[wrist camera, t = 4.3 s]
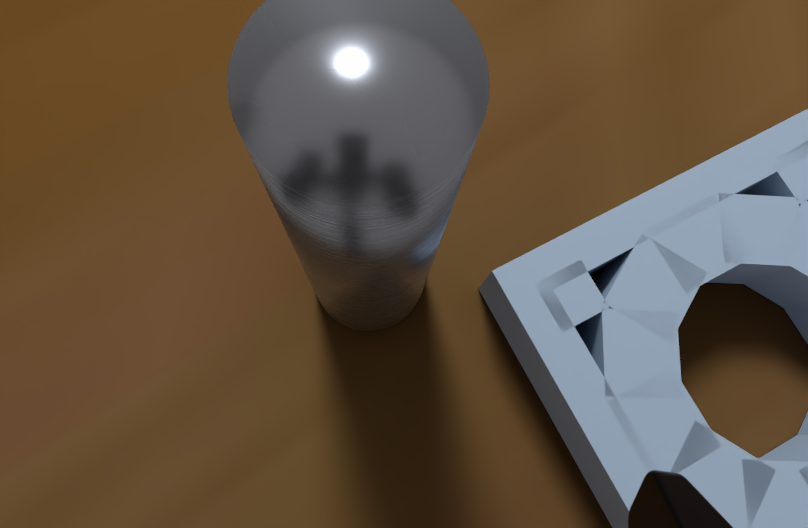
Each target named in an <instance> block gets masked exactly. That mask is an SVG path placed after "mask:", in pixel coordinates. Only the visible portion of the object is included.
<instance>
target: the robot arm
mask: <svg viewBox="0 0 808 528" xmlns="http://www.w3.org/2000/svg"><path fill="white" fill-rule="evenodd" d="M628 528H733V527H732V526H731V525H730V524H729V523H728V522H727V521H726V520H725V518H724V517H723V516H722V515H721V514H720V513H719V512H718V511H717V510H716V509H715V508H714V507H713V506H712V505H711V504H710V503H709V502H708V501H707V500H706V499H705V498H704V496H703V495H702V494H701V493H700V492H699V491H698V490H697V489H696V488H695V487H694V486H693V485H692V484H691V483H690V482H689V481H688V480H687V479H686V478H685V477H684V476H682V475H681V474H678V473H673V472H666V471H658V470H651V471H649V472H648V473H647V474H646V476H645V477H644V479H643V482H642V484H641V486H640V488H639V490H638V492H637V494H636V497H635V499H634V501H633V503H632V505H631V508H630V510H629V515H628Z"/></svg>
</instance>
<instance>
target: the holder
mask: <svg viewBox="0 0 808 528" xmlns="http://www.w3.org/2000/svg"><path fill="white" fill-rule="evenodd" d="M602 268H604V269H603V271H602V273H601V274H600V276H599V278H598V280H597V282H596V283H594V281H593V280H592V278H591V276H590V275H591V274H593V273H595V272H597V271H599V270H600V269H602ZM706 282H710V283H731V284H744V285H746V286H747V287H749V288H751V289H752V290H754V291H756V292H757V293H759V294H761V295H762V296H764V297H766V298H768V299H769V300H771V301H773V302H774V303H776V304H778V305H779V306H781V307H783V308H784V310H785V311H786V313H787V314H788V316H789V317H790V319H791V320H792V322H793V323H794V325H795V326H796V328H797V329H798V331H799V332H800V334H801V335H802V337H803V338H804V340H805V341H806V343H807V344H808V109H806V110H804V111H803V112H801V113H799V114H797V115H795V116H793V117H791V118H789V119H787V120H785V121H783V122H781V123H779V124H777V125H775V126H773V127H771V128H769V129H767V130H766V131H764V132H762V133H760V134H758V135H756V136H754V137H752V138H750V139H748V140H746V141H744V142H742V143H740V144H738V145H736V146H734V147H732V148H730V149H729V150H727V151H725V152H723V153H721V154H719V155H717V156H715V157H713V158H711V159H709V160H707V161H705V162H703V163H701V164H699V165H697V166H695V167H693V168H692V169H690V170H688V171H686V172H684V173H682V174H680V175H678V176H676V177H674V178H672V179H670V180H668V181H666V182H664V183H662V184H660V185H658V186H656V187H655V188H653V189H651V190H649V191H647V192H645V193H643V194H641V195H639V196H637V197H635V198H633V199H631V200H629V201H627V202H625V203H623V204H621V205H619V206H618V207H616V208H614V209H612V210H610V211H608V212H606V213H604V214H602V215H600V216H598V217H596V218H594V219H592V220H590V221H588V222H586V223H584V224H583V225H581V226H579V227H577V228H575V229H573V230H571V231H569V232H567V233H565V234H563V235H561V236H559V237H557V238H555V239H553V240H551V241H549V242H547V243H546V244H544V245H542V246H540V247H538V248H536V249H534V250H532V251H530V252H528V253H526V254H524V255H522V256H520V257H518V258H516V259H514V260H512V261H510V262H509V263H507V264H505V265H503V266H501V267H499V268H497V269H495V270H493V271H492V272H491V273H490V274H489V276H488V277H487V278H486V280H485V281H484V282H483V284H482V285H481V286H480V287H479V291H480V293H481V294H482V296H483V298H484V300H485V302H486V303H487V305H488V307H489V309H490V311H491V312H492V314H493V316H494V318H495V319H496V321H497V323H498V325H499V327H500V328H501V330H502V332H503V334H504V335H505V337H506V339H507V341H508V343H509V344H510V346H511V348H512V350H513V352H514V353H515V355H516V357H517V359H518V360H519V362H520V364H521V366H522V368H523V369H524V371H525V373H526V375H527V376H528V378H529V380H530V382H531V384H532V385H533V387H534V389H535V391H536V392H537V394H538V396H539V398H540V400H541V401H542V403H543V405H544V407H545V409H546V410H547V412H548V414H549V416H550V417H551V419H552V421H553V423H554V425H555V426H556V428H557V430H558V432H559V433H560V435H561V437H562V439H563V441H564V442H565V444H566V446H567V448H568V450H569V451H570V453H571V455H572V457H573V458H574V460H575V462H576V464H577V466H578V467H579V469H580V471H581V473H582V474H583V476H584V478H585V480H586V482H587V483H588V485H589V487H590V489H591V490H592V492H593V494H594V496H595V498H596V499H597V501H598V503H599V505H600V507H601V508H602V510H603V512H604V514H605V515H606V517H607V519H608V521H609V523H610V524H611V526H612V528H628V515H629V510H630V508H631V505H632V503H633V501H634V499H635V497H636V494H637V492H638V490H639V488H640V486H641V484H642V482H643V479H644V477H645V476H646V474H647V473H648V472H649V471H651V470H658V471H666V472H673V473H678V474H681V475H682V476H684V477H685V478H686V479H687V480H688V481H689V482H690V483H691V484H692V485H693V486H694V487H695V488H696V489H697V490H698V491H699V492H700V493H701V494H702V495H703V496H704V498H705V499H706V500H707V501H708V502H709V503H710V504H711V505H712V506H713V507H714V508H715V509H716V510H717V511H718V512H719V513H720V514H721V515H722V516H723V517H724V518H725V520H726V521H727V522H728V523H729V524H730V525H731V526H732V527H733V528H808V412H807V414H806V417H805V419H804V421H803V423H802V426H801V428H800V430H799V432H798V435H796V436H795V437H793V438H792V439H790V440H788V441H787V442H785V443H783V444H782V445H780V446H779V447H777V448H775V449H774V450H772V451H770V452H769V453H767V454H765V455H764V456H762V457H761V458H756V457H754V456H752V455H751V454H749V453H747V452H746V451H744V450H743V449H741V448H739V447H738V446H736V445H735V444H733V443H731V442H730V441H728V440H726V439H725V438H723V437H722V436H720V435H718V434H717V433H715V432H714V431H712V430H711V429H710V427H709V426H708V424H707V422H706V421H705V419H704V418H703V416H702V414H701V413H700V411H699V409H698V408H697V406H696V404H695V403H694V401H693V400H692V398H691V396H690V395H689V393H688V391H687V390H686V388H685V387H684V385H683V383H682V382H681V368H680V353H679V338H678V328H679V326H680V324H681V322H682V320H683V318H684V316H685V314H686V312H687V310H688V308H689V306H690V304H691V302H692V300H693V298H694V297H695V295H696V293H697V291H698V289H699V287H700V286H701V285H703V284H704V283H706ZM574 326H575V327H574Z"/></svg>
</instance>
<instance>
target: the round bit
mask: <svg viewBox="0 0 808 528" xmlns="http://www.w3.org/2000/svg"><path fill="white" fill-rule="evenodd" d="M489 88H490V85H489V71H488V66H487V61H486V56H485V53H484V50H483V48H482V45H481V42H480V40H479V38H478V36H477V34H476V32H475V30H474V29H473V27H472V26H471V24H470V23H469V21H468V20H467V19H466V17H465V16H464V15H463V13H462V12H461V11H460V10H459V9H458V8H457V7H456V6H455V5H454V4H453V3H452V2H451V1H450V0H266V1H265V2H264V3H263V4H262V5H261V6H260V7H259V8H258V9H257V10H256V11H255V12H254V13H253V14H252V16H251V17H250V19H249V20H248V21H247V23H246V24H245V26H244V27H243V29H242V31H241V33H240V35H239V37H238V39H237V41H236V43H235V46H234V49H233V52H232V55H231V59H230V65H229V70H228V96H229V104H230V108H231V112H232V116H233V119H234V121H235V124H236V126H237V129H238V131H239V133H240V135H241V137H242V140H243V142H244V144H245V146H246V148H247V150H248V152H249V154H250V156H251V158H252V161H253V163H254V165H255V167H256V169H257V171H258V173H259V175H260V177H261V179H262V182H263V184H264V186H265V188H266V190H267V192H268V194H269V196H270V198H271V201H272V203H273V205H274V207H275V209H276V211H277V213H278V215H279V217H280V219H281V222H282V224H283V226H284V228H285V230H286V232H287V234H288V236H289V238H290V240H291V243H292V245H293V247H294V249H295V251H296V253H297V255H298V257H299V259H300V261H301V264H302V266H303V268H304V270H305V272H306V274H307V276H308V278H309V280H310V283H311V285H312V287H313V289H314V291H315V293H316V295H317V297H318V299H319V301H320V303H321V305H322V307H323V308H324V309H325V311H326V312H327V313H328V314H329V315H330V316H331V317H332V318H333V319H334V320H336V321H337V322H338V323H340V324H342V325H344V326H346V327H348V328H351V329H354V330H358V331H379V330H383V329H387V328H389V327H392V326H394V325H396V324H398V323H399V322H401V321H402V320H403V319H405V318H406V317H407V316H408V315H409V314H410V313H411V312H412V310H413V309H414V308H415V306H416V305H417V303H418V301H419V299H420V296H421V294H422V291H423V288H424V285H425V283H426V280H427V277H428V274H429V272H430V269H431V266H432V263H433V260H434V258H435V255H436V252H437V249H438V246H439V244H440V241H441V238H442V235H443V232H444V230H445V227H446V224H447V221H448V218H449V216H450V213H451V210H452V207H453V205H454V202H455V199H456V196H457V193H458V191H459V188H460V185H461V182H462V179H463V177H464V174H465V171H466V168H467V165H468V163H469V160H470V157H471V154H472V151H473V149H474V146H475V143H476V140H477V138H478V135H479V132H480V129H481V126H482V124H483V121H484V118H485V114H486V110H487V106H488V100H489Z"/></svg>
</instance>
